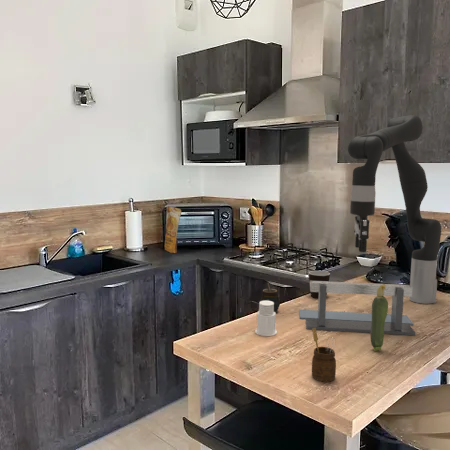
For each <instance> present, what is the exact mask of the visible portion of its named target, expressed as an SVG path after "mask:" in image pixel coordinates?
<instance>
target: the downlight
mask: <svg viewBox="0 0 450 450" xmlns="http://www.w3.org/2000/svg"><path fill="white" fill-rule="evenodd" d="M258 304H259V307H258V308H259V309H258V311H257V312H256V317H257V318H256V328H255V330H254V332H255V334H257V335H258V336H262V337H271V336H272V337H273V336H275V335H276V334H278V333H277V332H278V331H277V329H276V316H277V314H276V312H274V302H272V301H259V303H258Z"/></svg>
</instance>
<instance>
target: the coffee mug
mask: <svg viewBox="0 0 450 450" xmlns="http://www.w3.org/2000/svg"><path fill="white" fill-rule="evenodd" d="M330 277H331V273H330V272H328V271H322V270H311V271H309V272H308V281H309V283H308V284H310V281H328V282H330ZM309 293H310V298H311V299H315V300H318V299H319V292H309ZM327 296H328V293H326V298H327Z"/></svg>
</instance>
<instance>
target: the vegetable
mask: <svg viewBox="0 0 450 450" xmlns="http://www.w3.org/2000/svg"><path fill="white" fill-rule="evenodd" d="M381 284H382V285H380V287H379V288H378V289H377V295H375V297H374V298H373V299H372V304H371V313H372V325H371V333H370V343H371V346H372V348H373V350H374V352H377V351H381V350H382V346H383V345H384V335H385V334H384V324H385V319H386V316H387V314H388V311H389V303H388V299H387V298H386V297H385V295H384V289H385V284H386V283H381ZM383 288H384V289H383ZM385 290H386V289H385Z"/></svg>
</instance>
